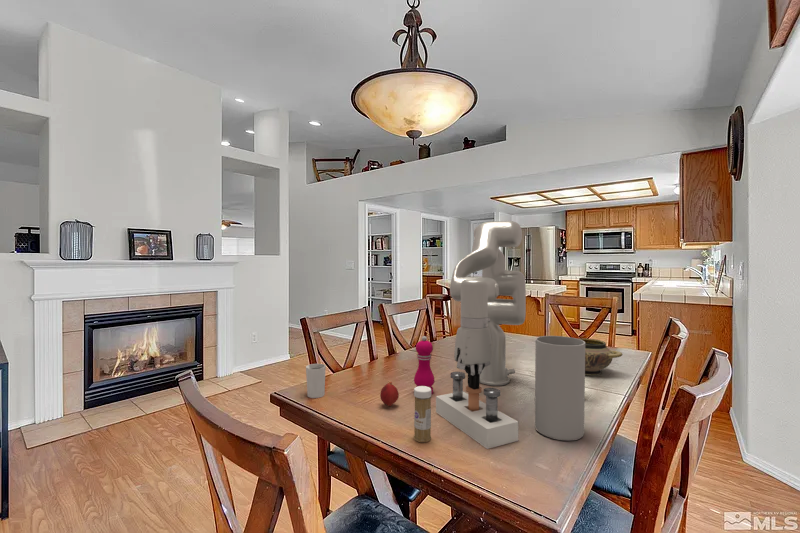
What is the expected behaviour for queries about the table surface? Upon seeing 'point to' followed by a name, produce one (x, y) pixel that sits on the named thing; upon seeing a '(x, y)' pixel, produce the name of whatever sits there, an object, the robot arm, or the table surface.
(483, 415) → the block
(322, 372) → the drinking glass
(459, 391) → the grey plug
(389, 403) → the onion
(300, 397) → the table surface
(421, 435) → the sprinkles bottle
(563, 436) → the cylinder vase
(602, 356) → the ceramic bowl
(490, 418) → the grey plug
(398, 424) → the table surface
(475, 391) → the rust plug
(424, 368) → the pepper mill
